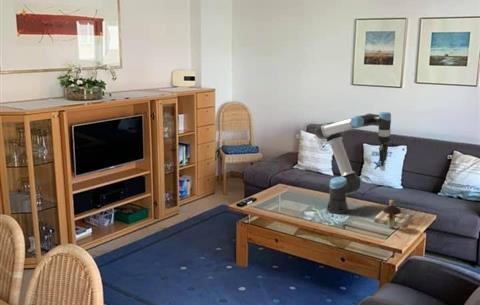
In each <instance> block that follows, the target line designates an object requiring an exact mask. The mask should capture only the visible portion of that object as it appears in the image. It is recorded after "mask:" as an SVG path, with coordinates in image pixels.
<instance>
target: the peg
mask: <svg viewBox="0 0 480 305" xmlns="http://www.w3.org/2000/svg"><path fill="white" fill-rule="evenodd" d="M396 201H397V200H396V199H390V200H389V203H388V204H389V205H388V206H391V205H393V206H396V203H397V202H396ZM396 207H397V206H396Z"/></svg>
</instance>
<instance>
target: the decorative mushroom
mask: <svg viewBox="0 0 480 305" xmlns="http://www.w3.org/2000/svg"><path fill="white" fill-rule="evenodd" d="M382 211H383V212H385V213H387V214H389V220H388V225H387V226H388V228H389V229H394V228H395V227H396V226H395V215H397V214H402V211H401V209H400V208H399V207H397V206H393V205H391V206H389V205H388V206H386V207H385V208H384V210H382Z"/></svg>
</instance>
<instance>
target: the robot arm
mask: <svg viewBox="0 0 480 305" xmlns="http://www.w3.org/2000/svg"><path fill="white" fill-rule="evenodd" d="M391 122H392V114H391V112H390V111H389V112H388V111H381V112H379V114H375V113H365V114H362V115H355V116H353V117H350V118H346V119H343V120H340V121H336V122H335V121H334V122H333V121H331V122H326V123H320V124H318V125H317V126H316V127H315V128H314V136H316V137H317V139H319V140H326V143H327V144H329V145H330V148H331V150H332V153H333V155H334V159H335V161H336V164H337V167H338V169H339V172H340V176H335V177H333V178H331V179H330V180H329V200H328V202H327V205H326V211H327V212H328V211H329V213H332V214H337V215H338V214H339V215H340V214H347V213H348V212H349V206H348V203H347V195H351V194H355V193H357V192H359V191H360V190H361V189H362V187H363V180H362V178H361V177H360V176H359V175H357V173H356V171H354V170H353V168H352V166H351V163H350V160H349V156H348V154H347V152H346V151H347V150H346V149H345V147H344V143H343V135H344V132H347V131H351V130H355V129H359V128H363V127H369V126H376V127H378V130H377V131H378V132H377V133H378V134H377V135H378V136H377V137H378V138H377V141H378V142H379V143H380V144H379V147H378V151H379V160H378V161H379V162H380V171H381V172H382V171H384V172H385V171H386V161H388V159H387V158H388V157H387V156H388V149H389V144H388V143H390V141H391V137H390V135H391V133H392V131H391Z"/></svg>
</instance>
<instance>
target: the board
mask: <svg viewBox="0 0 480 305" xmlns="http://www.w3.org/2000/svg"><path fill="white" fill-rule="evenodd" d="M383 211H384V210H381V211H380V212H379V213H378V214H377V215H376V216H375V217H374V218H373V223H375V224H380V225H381V224H382V225H387V226H388V220H389V214H387V213H385V212H383ZM409 219H410V214H406V213H401V214H397V215H395V227H398V228H403V226H405V224H406V223H407V222H408V221H409Z"/></svg>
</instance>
